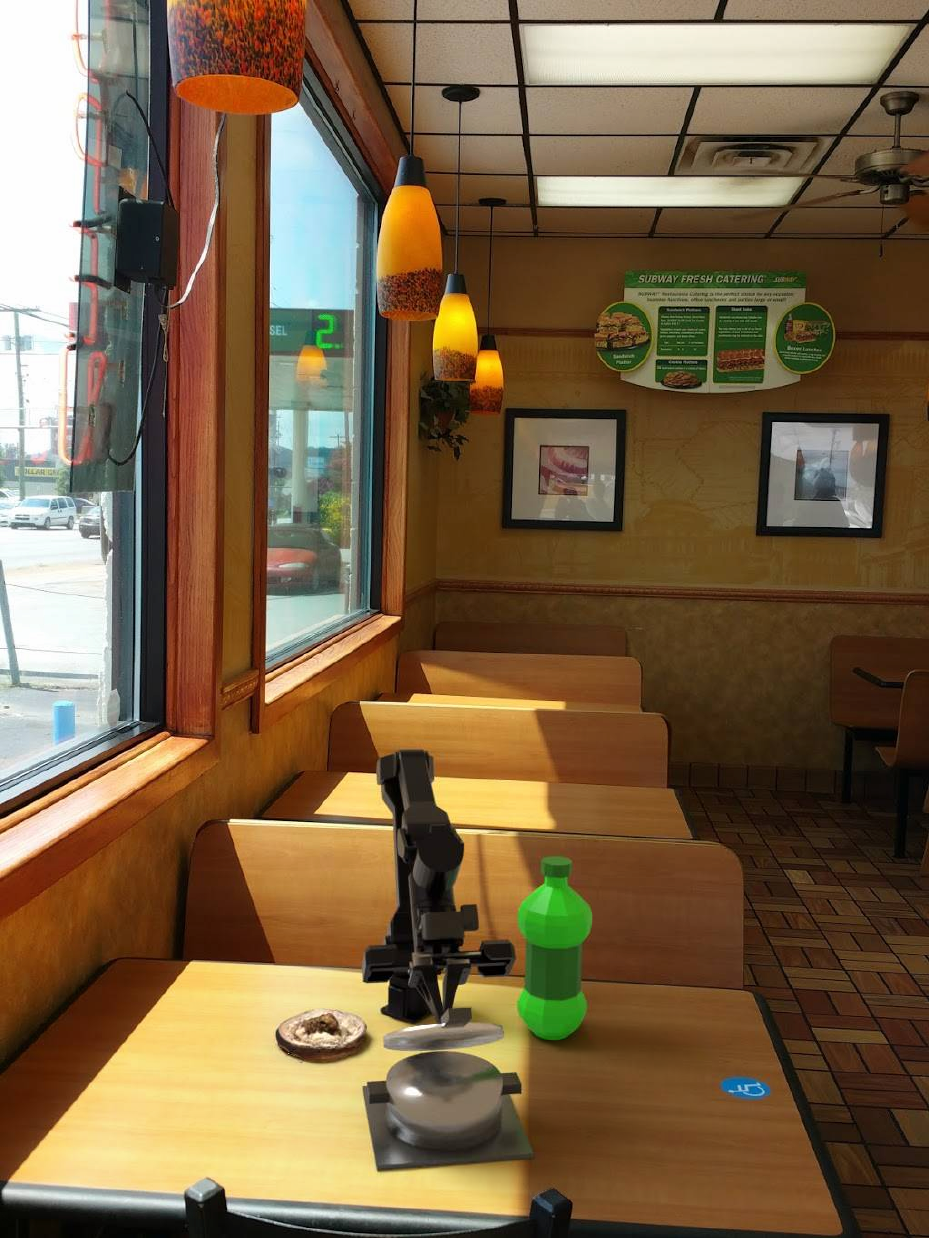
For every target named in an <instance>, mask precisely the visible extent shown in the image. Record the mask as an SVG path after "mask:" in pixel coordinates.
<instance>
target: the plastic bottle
mask: <svg viewBox="0 0 929 1238" xmlns="http://www.w3.org/2000/svg"><path fill="white" fill-rule="evenodd" d="M540 862H541V863H540V864H541V865H540V873H541V874H542V876H544V883H543V884H541V885H540V886H539V887H537V888H535V890H534V891H532V892H531V893H529V895H528V896H527V897H526V898H525V899H524V900H522V902H520V903H521V904H519V905H520V906H519V908H518V910H517V926H518V931H519V932H520V933H521V934H522V935H523V936H524V938H525V963H524V964H525V965H524V968H525V969H524V987H523V988H522V990H521V992H520V994H519V996H518V998H517V1008H516V1009H517V1012H518V1014H519V1017H520V1018H521V1020H522V1021H523V1023H524V1024H525V1026H527V1028H528V1029H529V1030H530V1031H531V1032H532V1033H534V1035H535V1036H536V1037H538V1038H540V1039H542V1040H546V1041H547V1040H548V1041H560V1040H562V1039H565V1038H568V1037H569V1036H570V1035H571V1034H572V1033H574V1032H575V1031H576V1030H577V1029H578V1028H579V1027H580V1025H581V1023H582V1022H583V1020H584V1019H585V1016H586V1014H587V1011H588V1010H587V1008H588V1003H587V1000H586V998H585V994H584V993H583V990H582V989H581V987H582V964H583V963H582V962H583V943H584V941H585V940H586V939H587V937H588V936H589V935H590V933H591V930H592V925H593V913H592V909H591V907H590V905H589V904H588V902H586V901H585V899H584V898H582V896H581V895H580V894H579V893H577V891H575V890H574V889H573V888H572V887H571V886H569V885H568V877H570V876H571V875H572V874H573V873H572V870H573V868H572V867H573V861H572V860H571V859H570V858H568V857H563V856H547V857H546V856H545V857H543V858H542V859H541V861H540Z"/></svg>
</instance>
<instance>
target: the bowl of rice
mask: <svg viewBox="0 0 929 1238" xmlns="http://www.w3.org/2000/svg"><path fill="white" fill-rule="evenodd" d="M367 1030H368V1026H367V1023H365V1021H364V1020H363V1018H361V1017H360V1016H358V1015H356V1014H353V1013H350V1012H347V1011H345V1010H344V1011H343V1010H341V1009H331V1008H316V1009H310V1010H306V1011H303V1012H301V1013H299V1014H296V1015H294V1016H291V1017H290V1018H288V1019H286V1020H284V1021H282V1022H281V1023H280V1024H279V1025H278V1027H277V1029H276V1030H275V1032H274V1033H275V1036H274V1037H275V1040H276V1042H277V1046H279V1047H280V1048H281V1047H282V1048H281V1049H282V1050H281V1051H282V1052H283V1053H285V1054H286V1053H289V1054H292V1055H291V1056H293V1055H294V1056H293V1057H296V1056H297V1058H299V1057H300V1058H299V1059H300V1060H299V1063H300V1064H303V1061H304V1060H305V1061H304V1062H308V1061H309V1062H315V1061H317V1062H316V1063H318V1062H319V1063H320V1062H321V1063H323V1062H322V1061H324V1062H329V1061H330V1060H331V1061H335V1060H339V1059H342V1058H341V1057H343V1058H345V1057H344V1056H346V1057H348V1056H347V1055H349V1054H350V1053H352V1054H353V1055H357V1054H356V1051H358V1050H359V1049H361V1048H362V1046H361V1045H363V1043H364V1042H365V1041H366V1038H365V1036H366V1032H367ZM364 1035H365V1036H364ZM364 1038H365V1039H364ZM289 1054H286V1056H285V1057H287V1056H288V1055H289ZM350 1055H351V1054H350ZM350 1055H349V1056H350ZM301 1058H303V1059H301ZM338 1058H339V1059H338ZM334 1059H335V1060H334Z"/></svg>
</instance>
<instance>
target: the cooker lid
mask: <svg viewBox="0 0 929 1238" xmlns="http://www.w3.org/2000/svg"><path fill="white" fill-rule="evenodd" d="M472 1019H473V1015H472V1006H471V1007H470V1006H468V1007H453V1008H448V1009H447V1011H446V1012H445V1013H444V1014H443V1016H442V1017H441V1024H437V1023H436V1024H426V1025H425V1024H424V1025H418V1026H412V1027H411V1026H410V1027H406V1028H402V1029H398V1030H394V1031H391V1032H387V1033H386V1034H385V1035H384V1036H383V1040H382V1041H383V1048H385V1049H387V1050H392V1051H397V1052H398V1051H400V1052H401V1051H402V1052H433V1051H450V1050H456V1049H465V1048H473V1047H477V1046H479V1047H480V1046H484V1045H487V1044H491V1043H492V1044H493V1043H495V1042H499V1041H500V1040H503V1039H504V1038H505V1032H504V1026H503V1025H500V1024H498V1023H492V1022H480V1021H479V1022H475V1021H474V1022H473V1021H472V1022H470V1021H471V1020H472Z"/></svg>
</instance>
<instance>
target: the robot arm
mask: <svg viewBox="0 0 929 1238" xmlns="http://www.w3.org/2000/svg"><path fill="white" fill-rule="evenodd" d="M434 762H435V761H434V756H432V755H430V754H429V751H428V750H424V749H421V748H416V749H398V750H397V751H395V750H394V751H393V753H391V754H385V755H384V756H382V757H379V758H378V760H377V762H376V784H377V785H378V786H380V793H381V800H382V801H383V803H384V804H385V805H386V808H388V810H389V811H390V812H391V814H392V815H391V816H392V828H393V829H392V831H393V833H392V835H393V853H394V858H393V859H394V876H395V877H394V878H395V897H396V909H395V911H394V914H393V916H392V917H391V919H390V921H389V924H388V926H387V928H386V930H387V933H386V934H387V935H384V937H383V941H382V943H381V944H374V945H373V944H372V945H368V946H367V947H366V949H365V950H364V952H363V957H362V962H361V963H362V964H361V973H362V983H364V984H380V983H381V984H382V983H383V984H385V983H388V987H387V1004H386V1005H384V1006H381V1007H380V1013H382V1014H384V1015H388V1016H390V1017H393V1018H397V1019H398V1020H399V1019H400V1020H403V1021H404V1022H408V1023H412V1024H416V1023H418V1022H420V1021H421V1020H423V1019H425V1018H427V1017H428V1016H430V1015H433V1017H434V1019H435V1022H436V1024H441V1017H442V1016H443V1014H444V1013H445V1012H446V1011H447V1009H448V1008H454V1003H455V997H456V993H457V990H458V987H459V986H462V985H466V984H467V981H468V979H469V977H470V976H469V975H470V973H471V971H472V967H473V968H474V967H476V969H477V972H478V974H479V975H481V977H483V978H501V977H502V978H504V977H506V976H509V975H510V974H511V971H512V969H513V967H514V964H515V961H516V960H517V957H516V948H515V945H514V944H513V943H512V941H510V939H507V938H505V939H489V940H488V939H487V940H482V941H481V943H480V944H479V945H480V946H479V948H478V950H461V948H460V947H463V946H464V943H465V942H464V941H465V940H464V939H466V937H465V932H476V931H478V930H479V928H480V925H479V924H480V922H479V920H480V919H479V918H480V917H479V912H478V911H479V910H478V906H477V903H474V904H472V903H471V904H468V903H467V904H462V905H461V906H460V910H459V911H457V908H456V907H457V906H456V901H455V893H454V886H455V884H456V883H457V879H458V876H459V872H460V869H461V865H462V862H463V859H464V855H465V842H464V840H462V838H461V837H460V835H459V834H458V832H457V829H456V828H455V826H452V822H451V820H450V817H449V814H448V812H447V811H446V810H444V809H443V808H441V807H439V806H438V805H437V803H436V799H435V794H434V789H433V786H432V784H433V783H434V781H435V767H434V766H435V763H434ZM442 971H444V972H445V973H444V976H443V980H442V982H441V983H442V992H441V991H440V986H439V981H438V980H439V977H438V976H441V975H442ZM441 993H442V994H441ZM441 995H442V997H441Z"/></svg>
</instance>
